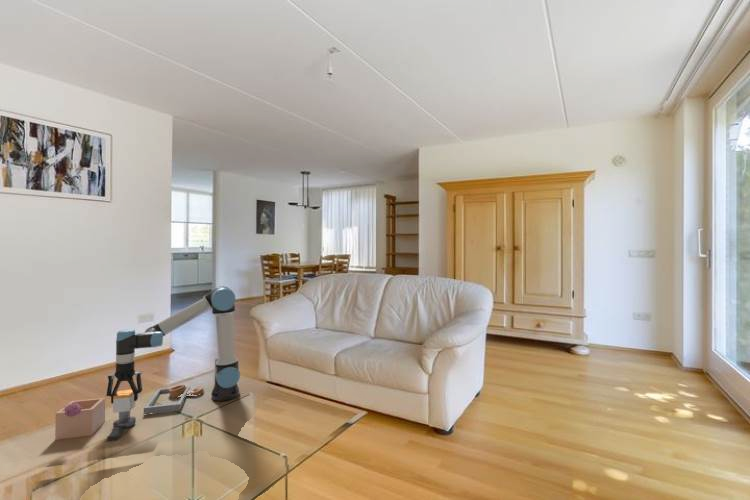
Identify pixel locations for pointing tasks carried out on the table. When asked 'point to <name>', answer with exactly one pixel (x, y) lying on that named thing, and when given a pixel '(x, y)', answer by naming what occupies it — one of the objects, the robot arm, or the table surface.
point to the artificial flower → (72, 409)
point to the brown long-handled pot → (180, 390)
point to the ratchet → (121, 425)
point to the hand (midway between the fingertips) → (124, 408)
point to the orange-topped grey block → (122, 401)
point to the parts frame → (164, 408)
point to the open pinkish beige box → (81, 419)
